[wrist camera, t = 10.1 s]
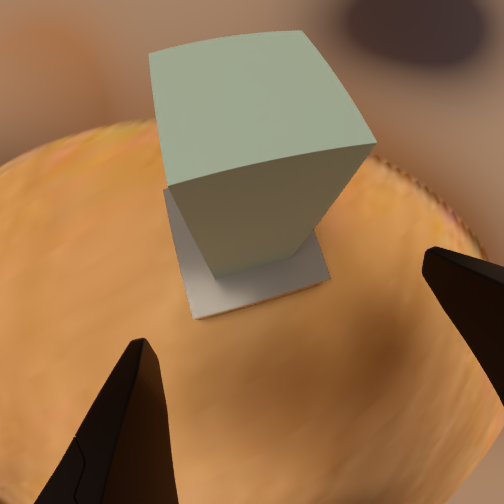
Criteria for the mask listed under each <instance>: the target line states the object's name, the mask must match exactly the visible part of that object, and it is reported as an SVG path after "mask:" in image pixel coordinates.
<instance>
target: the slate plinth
mask: <svg viewBox="0 0 504 504" xmlns="http://www.w3.org/2000/svg"><path fill="white" fill-rule="evenodd" d="M163 192H164V197H165V202H166V207H167V212H168V217H169V222H170V227H171V231H172V236H173V240H174V245H175V249H176V254H177V258H178V262H179V266H180V271H181V275H182V279H183V283H184V287H185V291H186V294H187V298H188V302H189V306H190V310H191V313H192V317H193V319H195V320H202V319H205V318H209V317H213V316H216V315H220V314H224V313H227V312H231V311H234V310H238V309H241V308H245V307H248V306H252V305H255V304H259V303H262V302H265V301H269V300H272V299H275V298H279V297H282V296H285V295H288V294H292V293H295V292H298V291H301V290H304V289H307V288H311V287H314V286H317V285H319V284H321V283H323V282H325V281H327V280H329V279H331V278H330V275H329V272H328V269H327V266H326V263H325V260H324V257H323V254H322V251H321V248H320V246H319V243H318V240H317V237H316V234H315V232H314V229H313V230H312V232H311V233H310V234H309V236H308V237H307V238H306V240H305V241H304V242H303V243H302V245H301V246H300V247H299V249H298V250H297V251H296V253H295V254H294V255H293V256H292V258H288V259H285V260H281V261H278V262H274V263H271V264H267V265H264V266H260V267H256V268H253V269H249V270H246V271H242V272H239V273H235V274H231V275H228V276H224V277H221V278H217V279H215V278H214V276H213V275H212V273H211V271H210V269H209V267H208V265H207V263H206V261H205V259H204V258H203V256H202V254H201V252H200V250H199V248H198V246H197V244H196V242H195V240H194V238H193V236H192V234H191V232H190V230H189V228H188V226H187V224H186V222H185V220H184V218H183V216H182V214H181V212H180V210H179V208H178V206H177V204H176V202H175V200H174V198H173V196H172V194H171V192H170V190H169V188H167V189H164V190H163Z"/></svg>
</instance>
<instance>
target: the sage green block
mask: <svg viewBox="0 0 504 504" xmlns="http://www.w3.org/2000/svg"><path fill="white" fill-rule="evenodd" d="M149 63H150V73H151V81H152V89H153V98H154V106H155V113H156V120H157V127H158V134H159V140H160V146H161V152H162V158H163V164H164V169H165V175H166V180H167V186H168V188H169V190H170V192H171V194H172V196H173V198H174V200H175V202H176V204H177V206H178V208H179V210H180V212H181V214H182V216H183V218H184V220H185V222H186V224H187V226H188V228H189V230H190V232H191V234H192V236H193V238H194V240H195V242H196V244H197V246H198V248H199V250H200V252H201V254H202V256H203V258H204V259H205V261H206V263H207V265H208V267H209V269H210V271H211V273H212V275H213V276H214V278H215V279H217V278H221V277H224V276H228V275H231V274H235V273H239V272H242V271H246V270H249V269H253V268H256V267H260V266H264V265H267V264H271V263H274V262H278V261H281V260H285V259H288V258H292V256H293V255H294V254H295V253H296V251H297V250H298V249H299V247H300V246H301V245H302V243H303V242H304V241H305V240H306V238H307V237H308V236H309V234H310V233H311V232H312V230H313V229H314V228H315V227H316V225H317V224H318V223H319V221H320V220H321V219H322V217H323V216H324V215H325V213H326V212H327V211H328V209H329V208H330V207H331V205H332V204H333V203H334V201H335V200H336V199H337V197H338V196H339V195H340V193H341V192H342V190H343V189H344V188H345V186H346V185H347V184H348V182H349V181H350V180H351V178H352V177H353V175H354V174H355V173H356V171H357V170H358V169H359V167H360V166H361V164H362V163H363V162H364V160H365V159H366V157H367V156H368V155H369V153H370V152H371V150H372V149H373V147H374V146H375V145H376V143H377V142H376V140H375V138H374V136H373V134H372V132H371V131H370V129H369V127H368V125H367V124H366V122H365V120H364V119H363V117H362V115H361V114H360V112H359V110H358V109H357V107H356V105H355V104H354V102H353V101H352V99H351V98H350V96H349V94H348V93H347V91H346V90H345V88H344V87H343V85H342V84H341V83H340V81H339V79H338V78H337V77H336V75H335V74H334V72H333V71H332V69H331V68H330V67H329V65H328V64H327V63H326V61H325V60H324V58H323V57H322V56H321V54H320V53H319V52H318V50H317V49H316V48H315V47H314V45H313V44H312V43H311V42H310V40H309V39H308V38H307V36H306V35H305V34H304V33H303V32H302V31H277V32H264V33H252V34H244V35H235V36H228V37H222V38H215V39H209V40H204V41H199V42H194V43H189V44H185V45H180V46H176V47H172V48H168V49H164V50H160V51H157V52H153V53H149Z"/></svg>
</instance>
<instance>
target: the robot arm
mask: <svg viewBox="0 0 504 504" xmlns="http://www.w3.org/2000/svg"><path fill="white" fill-rule="evenodd" d="M422 275H423V277H424V278H425V280H426V282H427V283H428V285H429V286H430V288H431V290H432V291H433V293H434V294H435V296H436V298H437V299H438V301H439V303H440V304H441V306H442V308H443V309H444V311H445V312H446V314H447V315H448V316H449V318H450V319H451V321H452V322H453V324H454V325H455V326H456V328H457V329H458V331H459V332H460V334H461V335H462V337H463V338H464V340H465V341H466V343H467V344H468V346H469V347H470V349H471V350H472V352H473V354H474V355H475V357H476V358H477V360H478V362H479V363H480V365H481V366H482V368H483V370H484V371H485V373H486V375H487V376H488V378H489V380H490V382H491V383H492V385H493V387H494V389H495V390H496V392H497V394H498V396H499V398H500V400H501V402H502V404H503V406H504V267H503V266H499V265H496V264H493V263H490V262H487V261H484V260H481V259H477V258H474V257H471V256H468V255H464V254H461V253H457V252H454V251H451V250H447V249H444V248H440V247H432V248H429V249H427V250H426V252H425V255H424V260H423V266H422ZM75 436H76V437H74V438H73V440H72V442H71V443H70V445H69V447H68V449H67V451H66V453H65V454H64V456H63V458H62V460H61V461H60V463H59V465H58V466H57V468H56V470H55V471H54V473H53V474H52V476H51V478H50V479H49V481H48V482H47V484H46V485H45V487H44V488H43V490H42V492H41V493H40V495H39V496H38V498H37V499H36V501H35V503H34V504H179V502H178V496H177V490H176V483H175V477H174V469H173V461H172V453H171V444H170V434H169V424H168V413H167V405H166V400H165V394H164V389H163V383H162V377H161V371H160V365H159V360H158V357H157V355H156V354H155V352H154V351H153V349H152V347H151V346H150V344H149V342H148V341H147V340H146V339H145V338H139V339H134V340H132V341H131V342H130V343H129V345H128V346H127V348H126V349H125V351H124V353H123V354H122V356H121V357H120V359H119V361H118V362H117V364H116V365H115V367H114V369H113V370H112V372H111V374H110V375H109V377H108V379H107V380H106V382H105V384H104V385H103V387H102V389H101V390H100V392H99V394H98V396H97V397H96V399H95V401H94V402H93V404H92V406H91V408H90V409H89V411H88V413H87V415H86V416H85V418H84V420H83V422H82V424H81V425H80V427H79V429H78V431H77V433H76V434H75Z"/></svg>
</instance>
